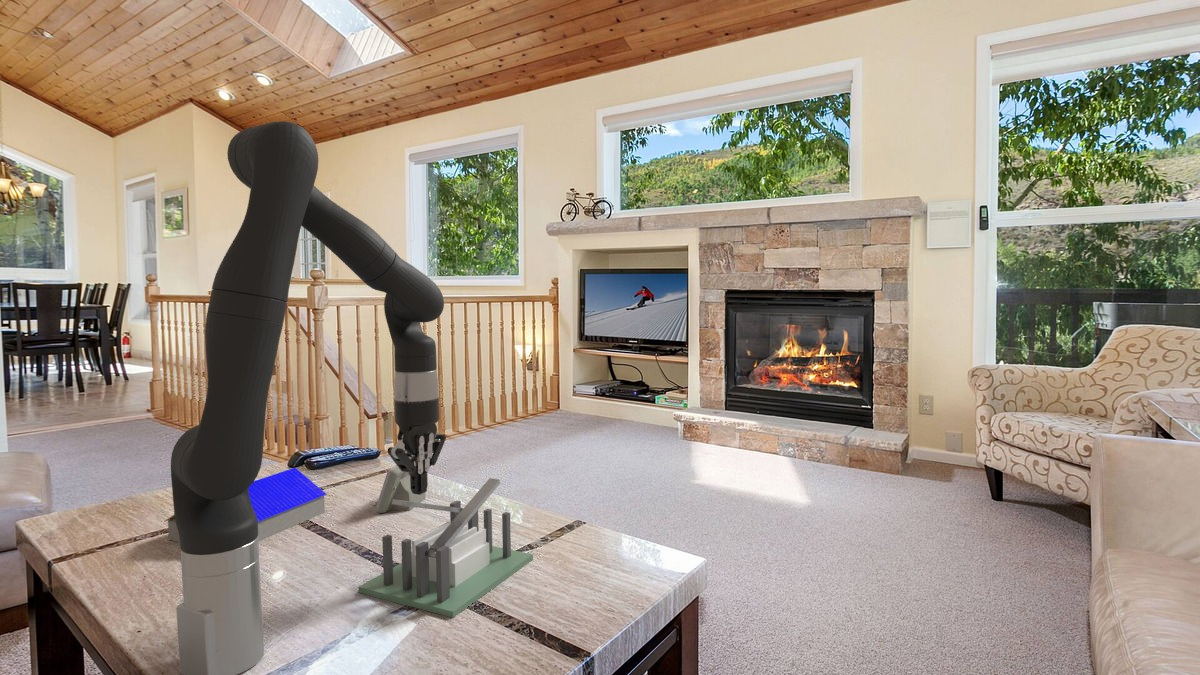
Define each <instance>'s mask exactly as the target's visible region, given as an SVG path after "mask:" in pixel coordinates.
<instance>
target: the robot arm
mask: <svg viewBox="0 0 1200 675" xmlns="http://www.w3.org/2000/svg"><path fill="white" fill-rule="evenodd" d="M318 153H319V152H318V149H317V146H316V144H315V141H314V139H313V137H312V136H311V135H310V134H309V132H308V131H307V129H305V128H303V127H302V126H300V125H299V124H297V123H294V122H291V121H284V120H283V121H272V122H267V123H264V124H260V125H255V126H250V127H247V128H245V129H243V130H240V131H239V132H237V133H236V134H235V135H234V136H232V138H231V140H230V142H229V144H228V147H227V152H226V154H227V161H228V165H229V167H230V169H231V171H232V173H233V174H234V175H235V177H236V178H237V179H238V180H239V181H240V182H241V183H242V184H243V185H244V186H246V187H247V188H248V189H250V192H249V198H248V203H247V208H246V212H245V216H244V217H243V220H242V222H241V223H242V224H241V226H240V228H239V229H238V230H237V234H236V235H235V237H234V239H233V240H232V243H231V244H230V246H229V247H228V249H227V251H226V252H225V255H224V256H223V258H222V260H221V261H220V264H219V266H218V269H217V270H216V273H215V275H214V278H213V282H212V287H211V290H210V291H211V292H210V296H209V302H208V307H207V311H206V316H205V317H206V318H205V328H204V346H205V356H206V359H205V360H206V371H207V388H206V398H205V403H204V407H203V410H202V414H201V417H200V421H199V422H200V423H199V424H198V425H195V426H193V427H191V428H190V429H188V430H186V431H185V432H184V433H183V434H182V435H181V436H180V437H179V438H178V439H177V441H176V443H175V444H174V446H173V449H172V453H171V457H170V478H171V488H172V490H171V491H172V502H173V515H174V516H175V522H176V526H177V529H178V533H179V538H180V543H179V548H180V563H181V564H180V565H181V566H180V567H181V581H182V582H181V583H182V598H183V601H182V603H179V604H178V605H177V606H176V609H175V610H176V623H177V624H176V625H177V626H176V627H177V639H178V640H177V641H178V658H179V673H180V674H181V675H239V674H242V673H243V672H246V671H247V670H249V669H251V668H253V667H254V666H255V665H256V664H258V663H259V662H260V661H261V660H262V658H263V656H264V653H265V648H264V647H265V646H264V645H265V644H264V643H265V642H264V628H263V625H264V623H263V609H262V608H263V603H262V586H261V584H262V583H261V568H260V567H261V565H260V546H259V543H260V541H258V520H257V516H256V514H255V512H254V509H253V507H252V504H251V501H250V497H249V490H248V488H249V487H250V486H251V484H252V483H253V482H254V481H256V480H257V477H258V476H259V473H260V470H261V468H262V463H263V454H264V443H265V442H264V439H265V428H266V427H265V425H266V424H265V423H266V411H267V403H268V402H267V401H268V395H269V390H270V386H271V382H272V377H273V374H274V373H273V372H274V369H275V364H276V359H277V353H278V350H279V345H280V344H279V343H280V339H281V335H282V330H283V327H284V322H285V318H286V317H285V316H286V310H287V305H288V299H289V291H290V285H291V279H292V275H293V270H294V264H295V260H296V254H297V250H298V249H297V248H298V242H299V237H300V232H301V228H303V229H305V230H306V231H307V232H309V233H310V234H311V235H313V236H314V238H315V239H317V240H318V241H319V242H320V243H322V244H323V245H324V246H325V247H326V248H327V249H328V250H330V251H331V252H332V253H333V254H334V255H335V256H336V257H337V258H338V259H339V260H341V262H342V263H343V264H345V265H346V266H347V268H349V269H350V270H351V271H352V273H353V274H355V275H356V276H357V277H358V278H359V279H360V280H361V281H362V282H363V283H364V284H365V285H366V286H368V287H369V288H371V289H373V290H375V291H379V292H381V293H385V296H384V301H383V311H384V316H385V321H386V323H387V327H388V332H389V335H390V338H391V342H392V343H393V349H394V352H393V353H394V354H393V355H394V380H393V397H394V399H393V401H394V403H393V404H394V422H395V424H396V425H397V426H398V433H397V436H396V437H397V442H396V444H395V445H394V447H393V446H390V447H388V448H387V454H388V455H389V457H390V458H391V459H392V461H393V462H394V463H395V466H396V465H397V466H398V467H399V469H400V470H401V471H402V472H409V473H410V485H411V486H410V487H411V491H412V493H413V494H418V495H420V494H423V493H425V494H426V493H427V491H428V485H429V483H428V472H429V471H430V469H431V468H430V467H432V466H433V467H434V466H436V464H437V461H438V459H439V457H440V454H441V452H442V449H443V447H444V445H445V443H446V439H447V436H446V434H441V433H439V432H438V428H437V427H438V426H437V425H436V423H437V422H439V421H440V394H439V393H440V392H439V390H440V389H439V384H440V383H439V377H438V371H437V367H438V366H437V365H438V364H437V345H436V342H435V340H434V338H432V337H431V336H429V335H426V334H425V333H424V331H423V328H422V325H421V323H430V322H433V321H436V320H437V319H438V318H439V317H440V316H441V315H442V313H443V311H444V308H445V301H444V300H445V298H444V296H443V293H442V291H441V289H440V288H439V286H438V285H437V284H436V282H435V281H434V280H432V279H431V278H430V277H429V276H428V275H426V274H425V273H424V272H422V271H420V270H419V269H418V268H416V267H415V266H413V265H412V264H410V263H408V262H407V261H406V260H404V259H403V258H401V257H400V256H399V255H398V254H397V253H396V251H395V250H394V249H393V248H392V247H391V246H390V245H389V244H388V242H386V241H385V240H384V238H382V236H381V235H380V234H378V233H377V231H375V230H374V229H373V228H372V227H371V226H369V225H368V224H367V223H366V222H364V221H363V220H361V219H360V218H358V217H357V216H355V215H353V214H352V213H351V212H349V211H347V210H346V209H345V208H343V207H341V205H339V204H337V203H336V202H334V201H333V200H331V198H329V197H328V196H327V195H325V194H324V193H323V192H322V191H321V190H320V189H319V188H317V187H316V186H315V182H316V179H317V175H318V171H319V154H318ZM414 461H415V463H414Z"/></svg>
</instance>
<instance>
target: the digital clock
mask: <svg viewBox="0 0 1200 675" xmlns="http://www.w3.org/2000/svg"><path fill="white" fill-rule="evenodd" d="M414 463H415V461H414ZM410 486H411V485H410V473H409V472H402V471H401V470H400V469H399V467H398V466H397V465H396V464H395V465H393V466H392V467H391V468H389V469H388V470H387V472H386V475H385V479H384V482H383V484H382V486H381V490H380V494H379V496H378V499H377V502H376V507H375V509H376V511H377V513H379V514H384V513H387V512H389V511H404V510H406V512H407V511H411V510H413V508H414V507H408V506H400V505H395V504H392V501H393V499H396V500H403V501H411V502H419V503H422V502H423V501H424V500H425V499H426V498H427V497H426V492H425V493H423V494H420V495H418V494H413V493H412V491H411V487H410Z"/></svg>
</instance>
